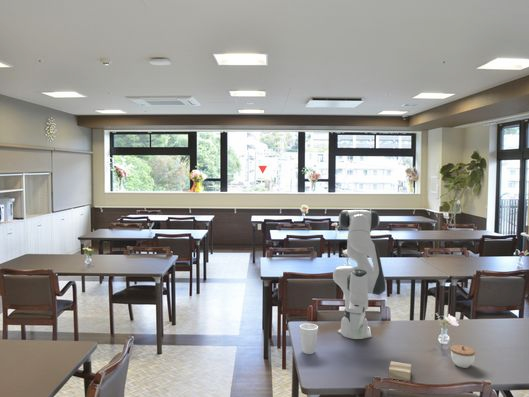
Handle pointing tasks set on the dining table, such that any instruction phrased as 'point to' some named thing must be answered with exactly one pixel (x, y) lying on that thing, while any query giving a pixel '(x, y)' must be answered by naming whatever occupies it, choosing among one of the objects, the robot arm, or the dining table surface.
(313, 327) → the foam cup
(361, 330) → the green cube
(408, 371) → the oak base
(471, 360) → the lidded jar
